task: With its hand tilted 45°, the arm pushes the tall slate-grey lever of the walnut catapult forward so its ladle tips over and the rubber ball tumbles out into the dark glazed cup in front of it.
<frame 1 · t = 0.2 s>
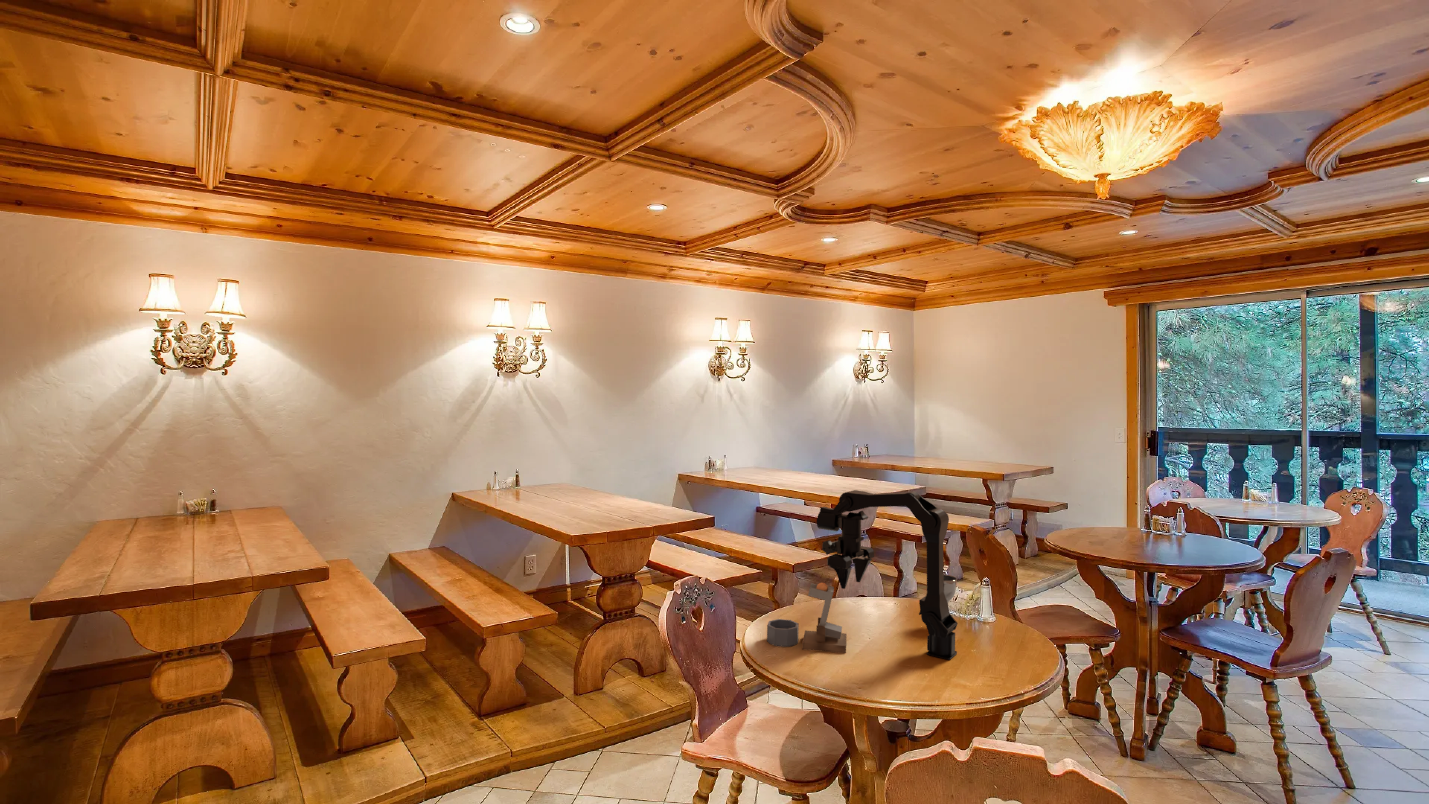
hand: (850, 585, 213), 14 cm above the table, tool pointing down, fingers open, 9 cm apart
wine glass: (942, 626, 221), on the table
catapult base: (821, 644, 204), on the table
ball: (822, 588, 203), point 16 cm above the table, tilted 10°, touching lever
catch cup: (782, 641, 206), on the table
lever: (825, 610, 203), point 10 cm above the table, hinge at -12.0°, touching ball
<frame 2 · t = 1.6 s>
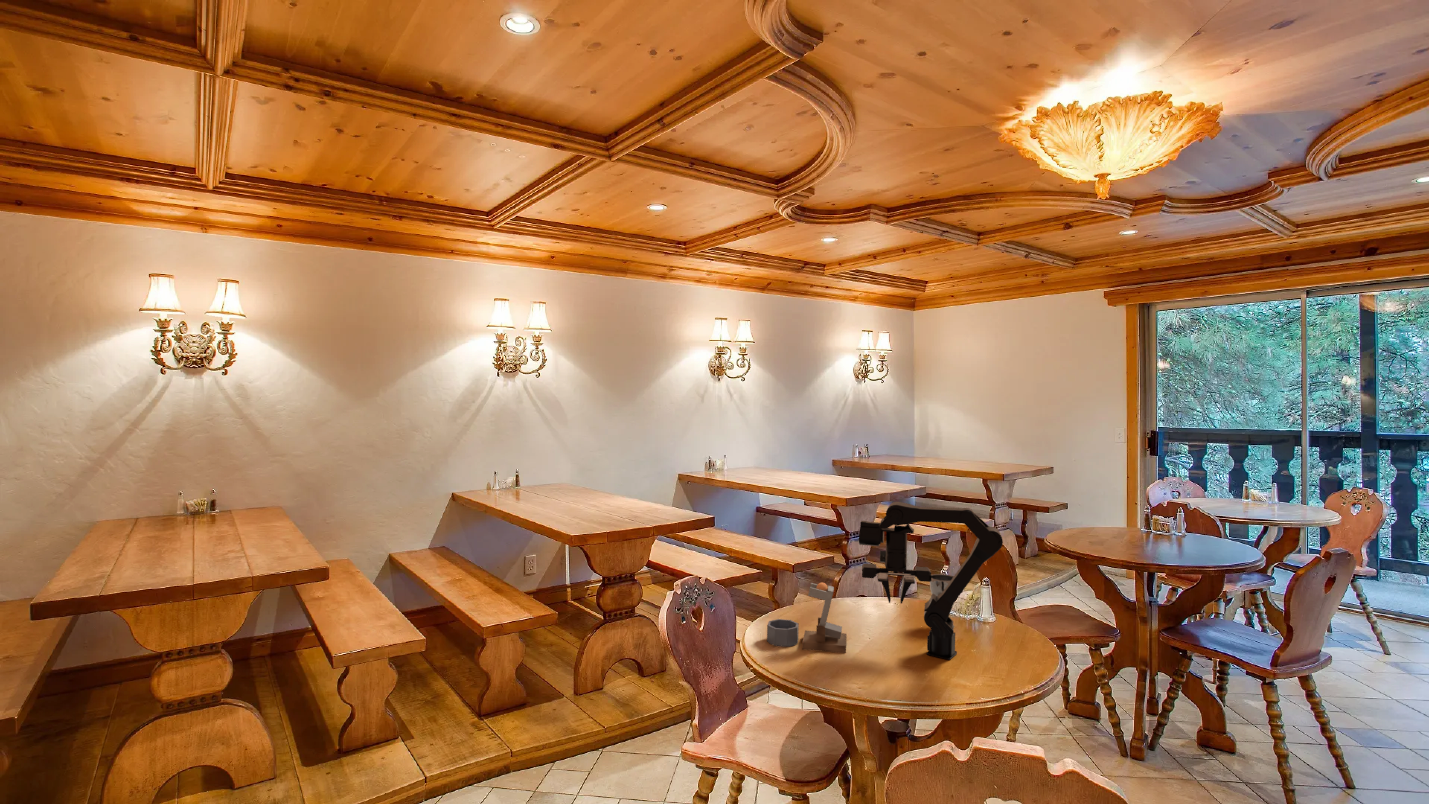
hand: (895, 602, 201), 13 cm above the table, tool pointing down, fingers open, 3 cm apart
nothing on the table moved.
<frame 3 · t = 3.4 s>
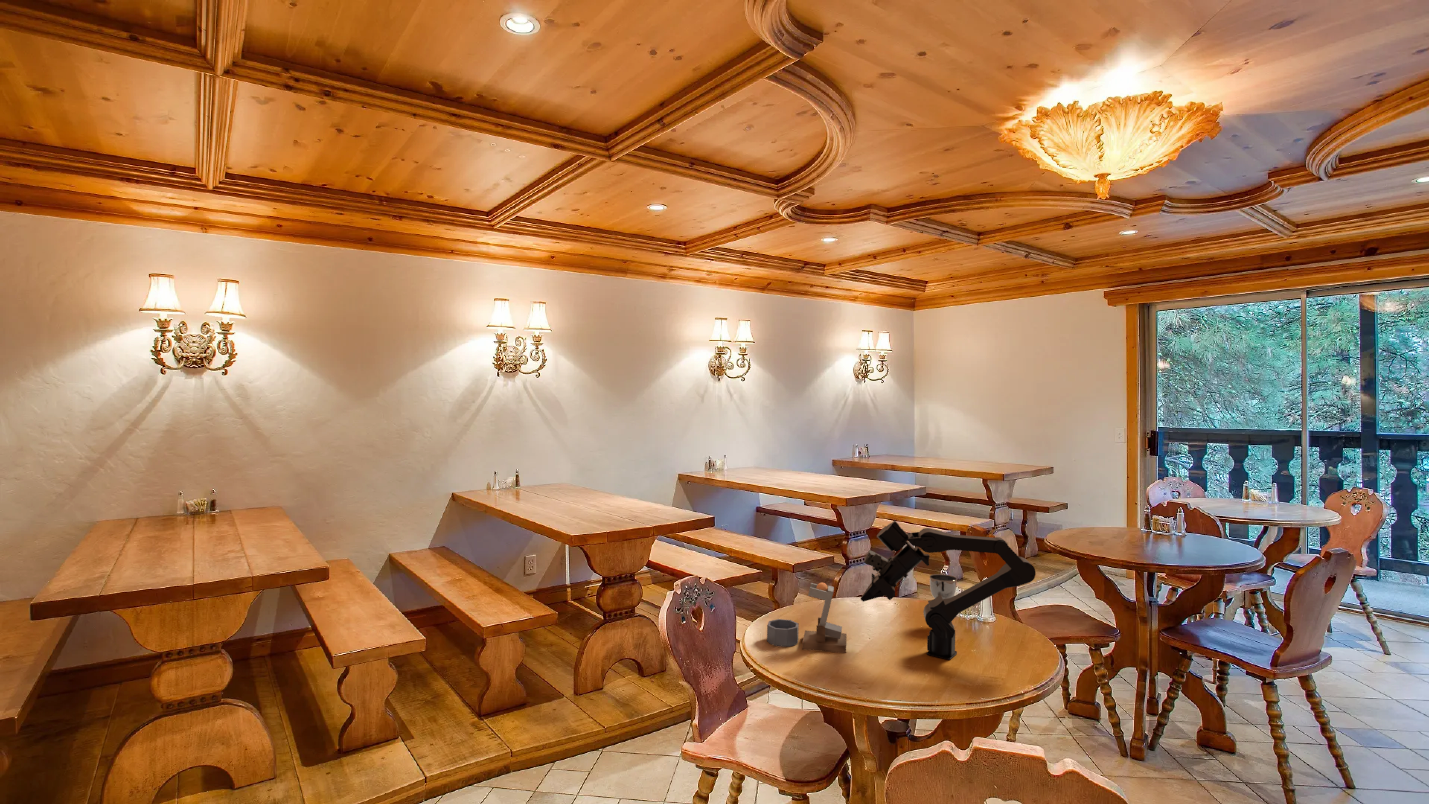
hand: (861, 600, 201), 14 cm above the table, tool tilted 45°, fingers closed
nothing on the table moved.
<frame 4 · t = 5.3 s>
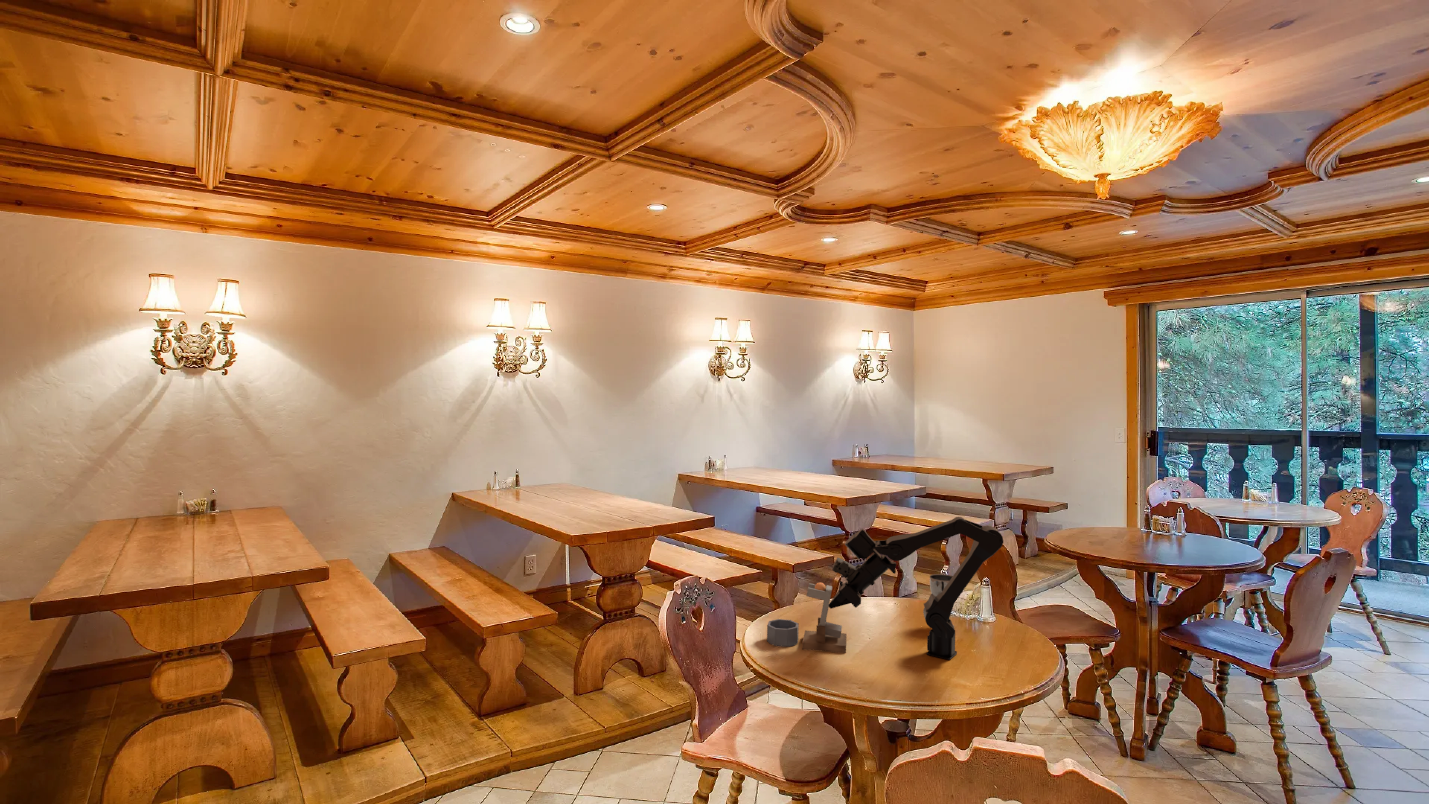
hand: (829, 607, 203), 11 cm above the table, tool tilted 45°, fingers closed, pressing on lever
lever: (824, 610, 203), point 10 cm above the table, hinge at -9.4°, touching ball, gripper
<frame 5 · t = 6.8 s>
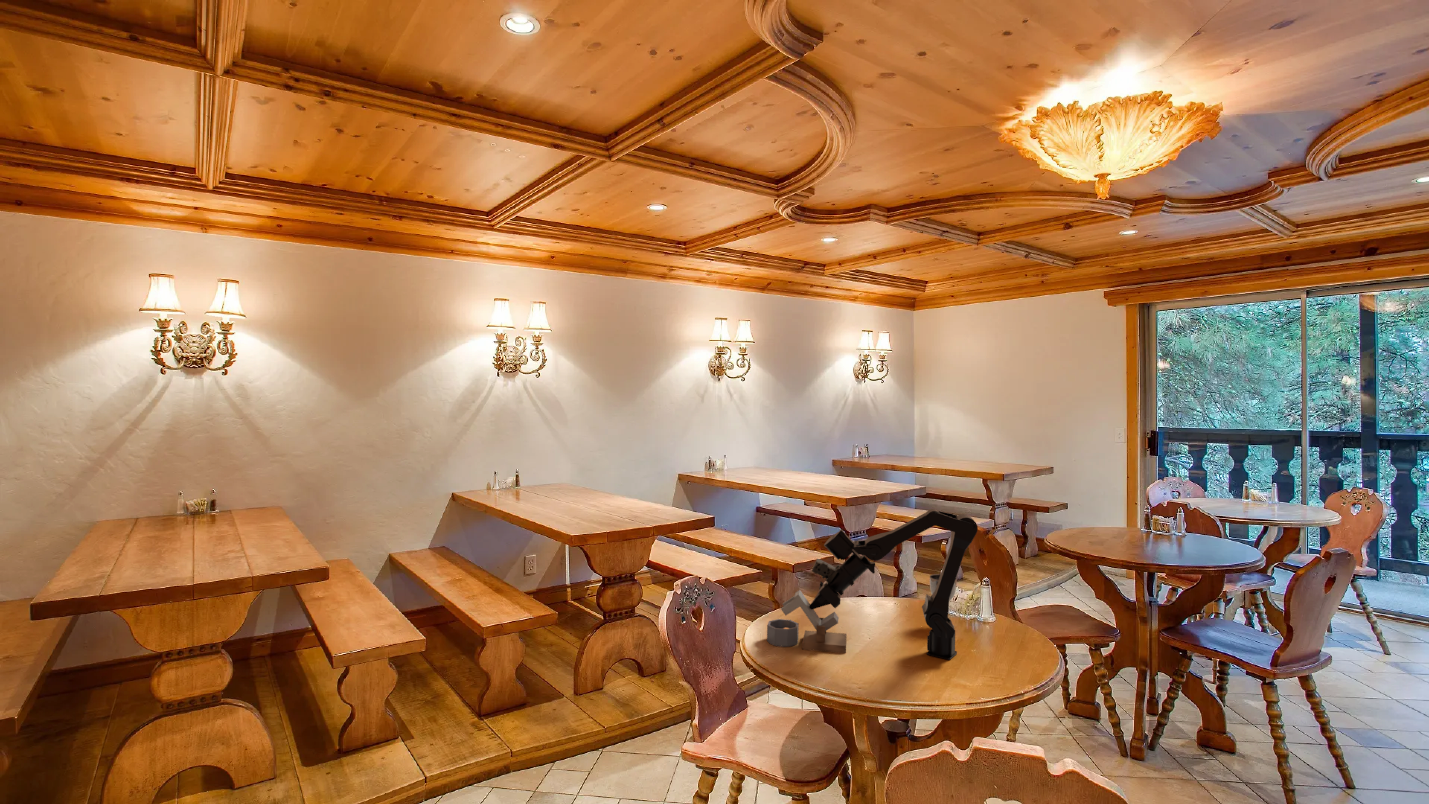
hand: (810, 608, 204), 10 cm above the table, tool tilted 45°, fingers closed, pressing on lever
ball: (786, 633, 205), point 2 cm above the table, tilted 81°, touching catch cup
lever: (809, 612, 204), point 9 cm above the table, hinge at 36.3°, touching gripper
everything else where it was.
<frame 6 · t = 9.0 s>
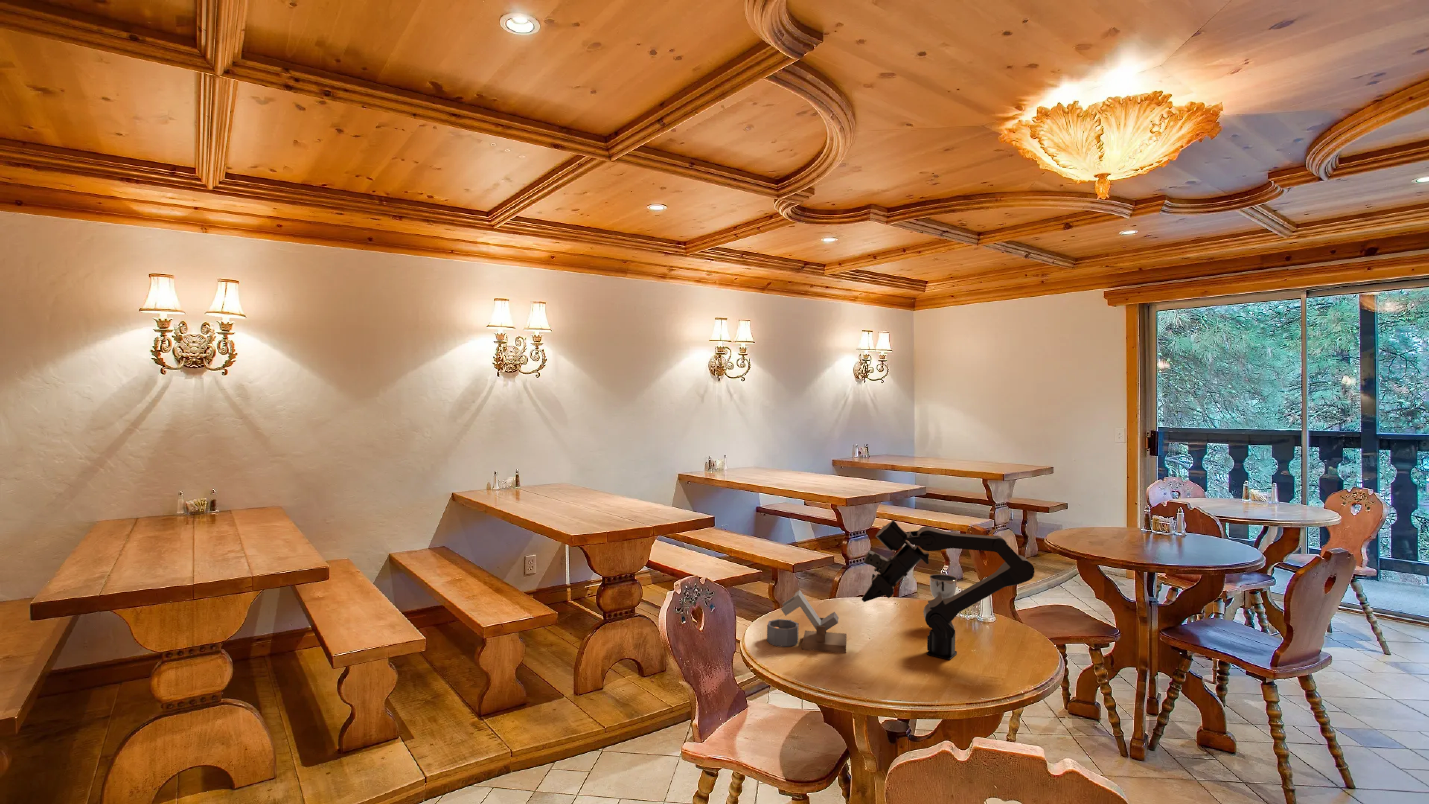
hand: (862, 600, 201), 13 cm above the table, tool tilted 45°, fingers closed
ball: (775, 632, 206), point 2 cm above the table, tilted 169°, touching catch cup
lever: (809, 613, 204), point 9 cm above the table, hinge at 36.5°
everything else where it was.
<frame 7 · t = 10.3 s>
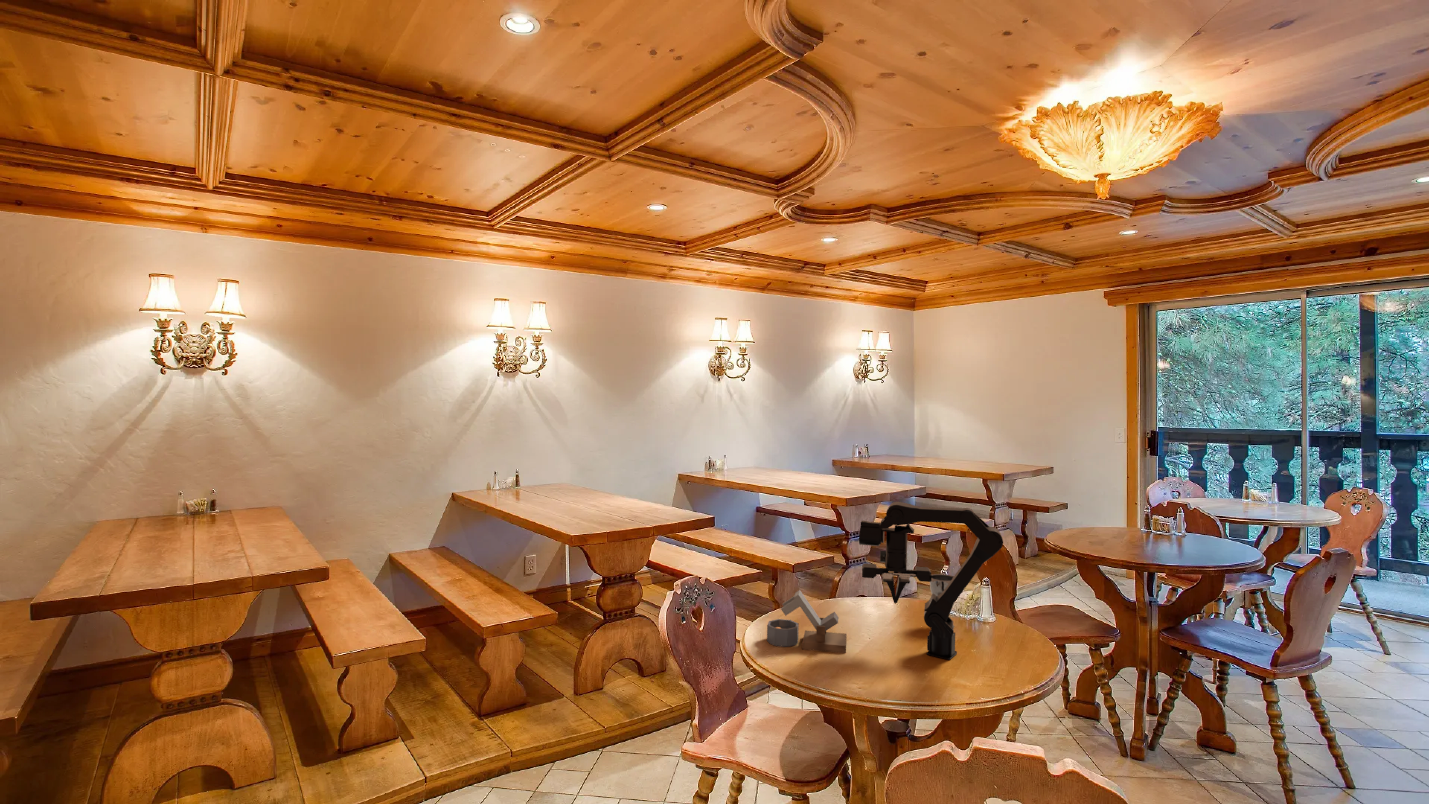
hand: (895, 602, 201), 13 cm above the table, tool pointing down, fingers closed
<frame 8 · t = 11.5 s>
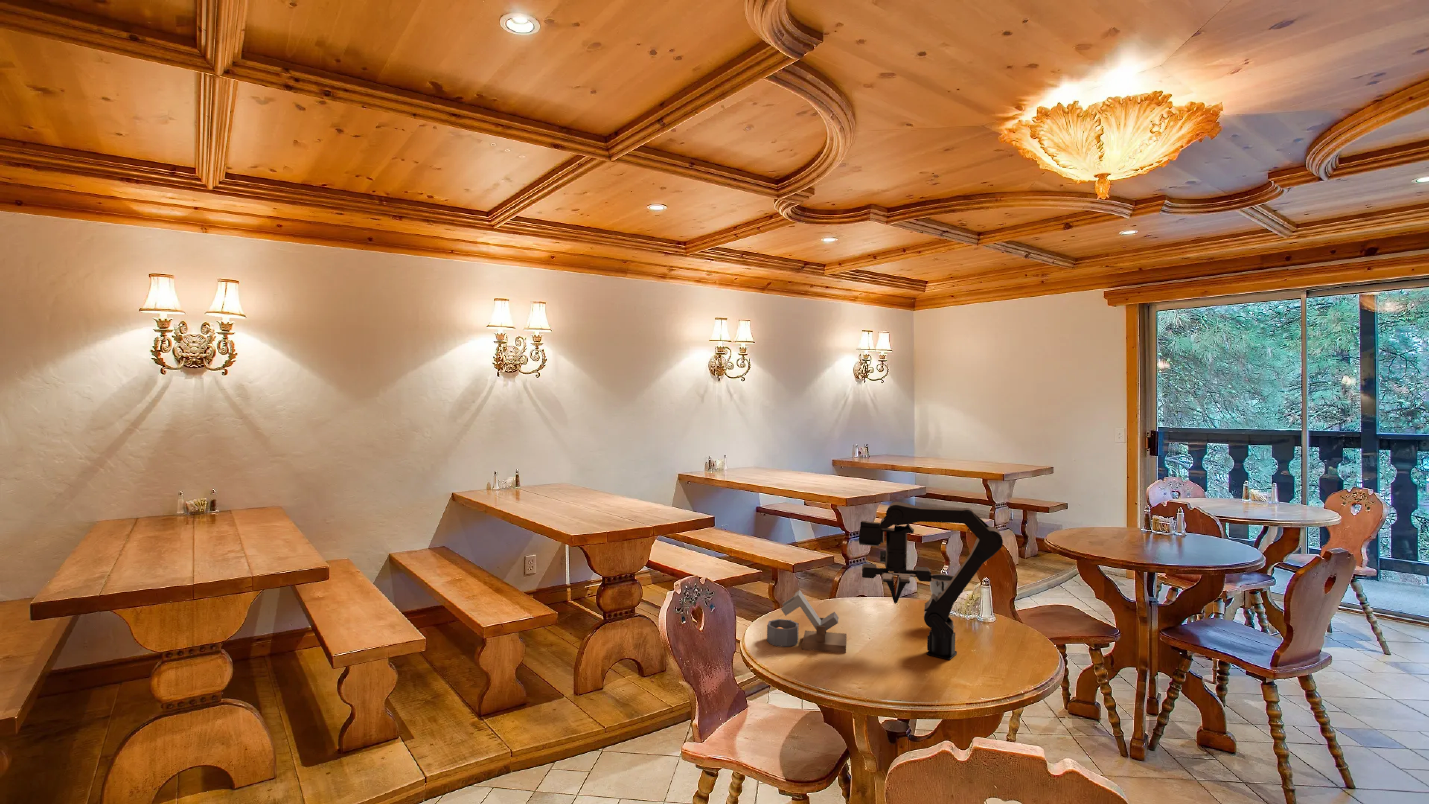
hand: (895, 602, 201), 13 cm above the table, tool pointing down, fingers closed
ball: (779, 632, 206), point 2 cm above the table, tilted 150°, touching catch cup
everything else where it was.
at the end: ball inside the target area on the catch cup (0.9 cm from its centre), point 2.4 cm above the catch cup's base; lever at +36° (first picture: -12°) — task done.
